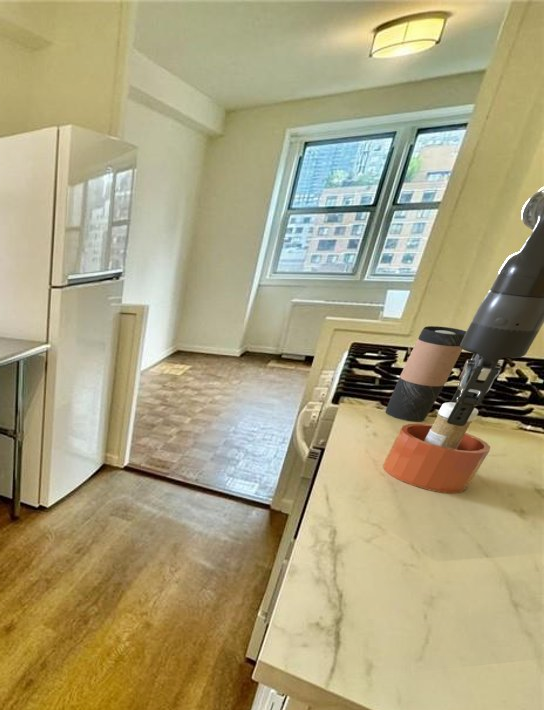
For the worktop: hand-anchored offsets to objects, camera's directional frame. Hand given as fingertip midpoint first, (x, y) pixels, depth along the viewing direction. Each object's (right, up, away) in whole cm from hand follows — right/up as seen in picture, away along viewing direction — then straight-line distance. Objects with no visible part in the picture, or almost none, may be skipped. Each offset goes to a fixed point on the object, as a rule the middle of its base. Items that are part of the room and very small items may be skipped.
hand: (455, 416), depth 84 cm
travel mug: (+19, +2, +30) cm, 35 cm away
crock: (0, -11, +6) cm, 12 cm away
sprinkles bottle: (0, -10, +6) cm, 12 cm away
